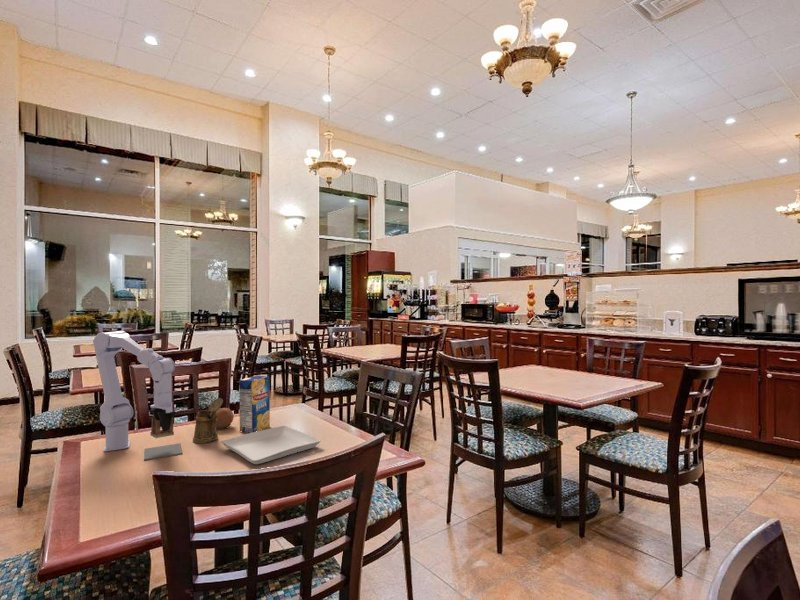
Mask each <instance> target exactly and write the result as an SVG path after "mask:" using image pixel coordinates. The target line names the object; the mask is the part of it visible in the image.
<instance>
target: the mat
mask: <svg viewBox="0 0 800 600" xmlns="http://www.w3.org/2000/svg"><path fill="white" fill-rule="evenodd" d="M143 451H144V454H143V455H144V457H143V461H151V460H157V459H163V458H167V457H174V456H179V455H183V453H184V452H183V449H182V444H181V442H179V443H172V444H166V445H158V446H154V447H146V448H144V450H143Z"/></svg>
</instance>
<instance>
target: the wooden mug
mask: <svg viewBox="0 0 800 600" xmlns="http://www.w3.org/2000/svg"><path fill="white" fill-rule="evenodd" d="M223 403H224V399H223V398H222V397H217V398H216V399H215V400H213V401H212V402H210V404H209V405H208V407H207V409H205V410H199V411H197V413H196V416H195V427H194V434H193V438H192V443H195V444H208V443H211V442H215V441H216V440H217V439H219V436H218V432H217V429H216V424H217V414H216V411H217V410H218V409H219V408H221V406H222V405H223ZM214 440H215V441H214Z"/></svg>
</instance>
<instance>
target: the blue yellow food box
mask: <svg viewBox="0 0 800 600" xmlns="http://www.w3.org/2000/svg"><path fill="white" fill-rule="evenodd" d="M238 383H239V384H238V385H239V389H238V390H239V395H238V397H239V432H240V431H242V432H241V433H244V432H248V433H247V434H249V433H253V432H256V431H259V430H260V431H261V429H263V430H265V429H267V428H269V427H268V426H271V425H270V424H271V417H270V413H271V411H270V404H271V403H270V402H271V401H270V390H271V389H270V376H268V375H266V376H265V375H255V376H250V377H246V378H243V379H242V378H241V379H239V381H238ZM266 427H267V428H266ZM264 428H265V429H264Z"/></svg>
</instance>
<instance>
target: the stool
mask: <svg viewBox="0 0 800 600" xmlns="http://www.w3.org/2000/svg"><path fill="white" fill-rule="evenodd" d="M150 426H151V428H150V429H151V431H150V436H151V437H153V438H155V439H159V438H166V437H171V436H174V435H175V432H174V417H173V418H172V421H171V425H170V429H169V430H167V431H162V429H161V427H160V420H157V421H156V418H155V417H153V418H151V425H150Z"/></svg>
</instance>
